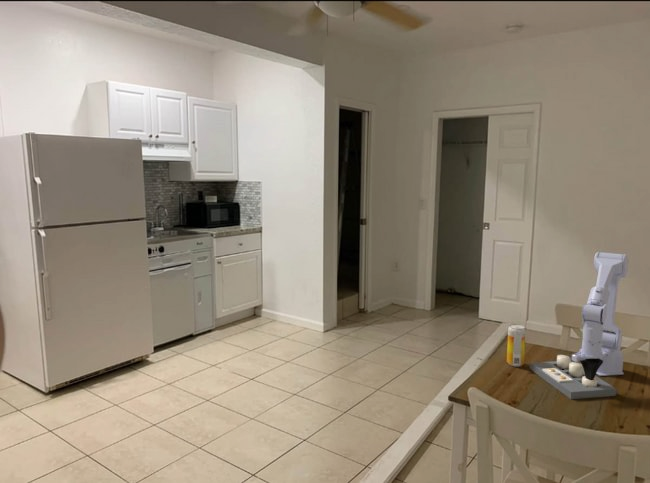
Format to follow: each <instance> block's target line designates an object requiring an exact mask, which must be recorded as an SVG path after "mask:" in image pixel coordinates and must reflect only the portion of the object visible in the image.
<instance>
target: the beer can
mask: <svg viewBox="0 0 650 483" xmlns="http://www.w3.org/2000/svg"><path fill="white" fill-rule="evenodd" d="M525 345H526V328H525V326H524V325H521V324H510V325H509V326H508V329H507V346H506V347H507V349H506V350H507V351H506V362H507V363H508V365H509V366H511V367H515V368H519V367H522V366H523V365H524V364H525V347H526V346H525Z"/></svg>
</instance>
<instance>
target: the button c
mask: <svg viewBox="0 0 650 483" xmlns="http://www.w3.org/2000/svg"><path fill="white" fill-rule="evenodd" d="M582 384H583V385H585V386H586V387H597V379H596V378H594V380H589V379H587V378H586V377H585V376H583V377H582Z"/></svg>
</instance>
